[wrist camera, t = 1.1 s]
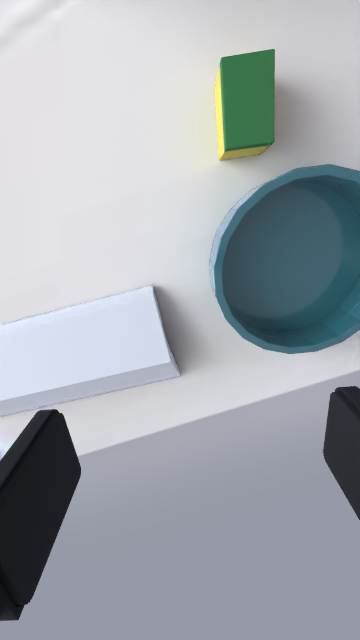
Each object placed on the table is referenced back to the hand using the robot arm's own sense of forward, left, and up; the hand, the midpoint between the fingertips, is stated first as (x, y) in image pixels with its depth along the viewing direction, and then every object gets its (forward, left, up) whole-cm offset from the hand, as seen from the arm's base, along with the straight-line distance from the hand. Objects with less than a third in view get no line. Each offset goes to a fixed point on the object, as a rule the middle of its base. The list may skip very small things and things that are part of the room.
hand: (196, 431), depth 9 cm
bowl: (-1, +11, -23) cm, 26 cm away
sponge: (-15, +6, -23) cm, 28 cm away
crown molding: (+8, -18, -23) cm, 30 cm away
